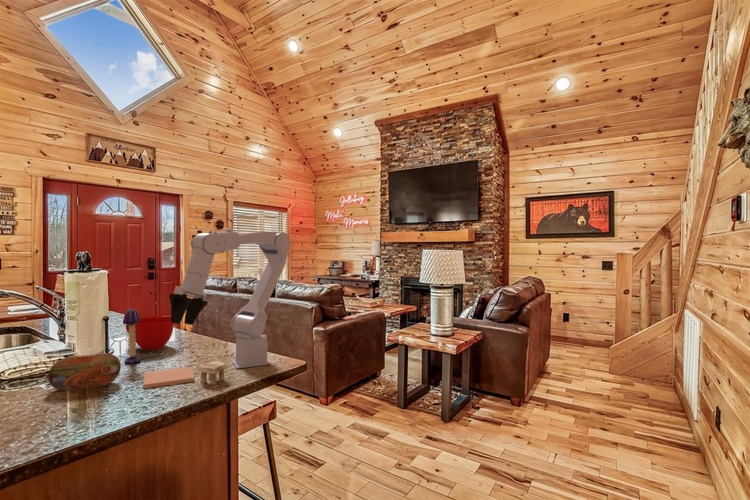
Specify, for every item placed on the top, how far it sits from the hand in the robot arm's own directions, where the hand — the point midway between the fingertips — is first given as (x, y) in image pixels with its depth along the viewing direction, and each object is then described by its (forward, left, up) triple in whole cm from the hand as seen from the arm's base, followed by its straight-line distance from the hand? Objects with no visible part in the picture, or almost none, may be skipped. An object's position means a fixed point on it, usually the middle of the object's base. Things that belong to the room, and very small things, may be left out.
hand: (182, 323), depth 101 cm
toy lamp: (+13, -26, -17) cm, 34 cm away
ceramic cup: (+9, -43, -17) cm, 47 cm away
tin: (+22, -9, -17) cm, 29 cm away
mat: (+3, -6, -16) cm, 18 cm away
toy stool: (-8, +1, -16) cm, 18 cm away
